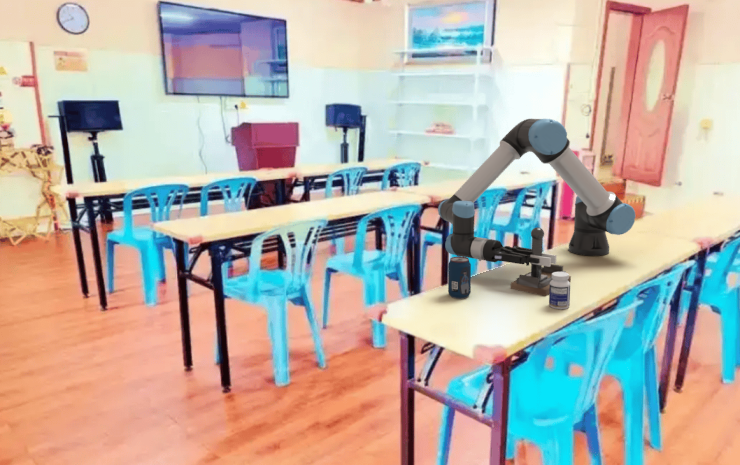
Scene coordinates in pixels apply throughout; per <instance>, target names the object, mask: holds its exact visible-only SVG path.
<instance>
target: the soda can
mask: <svg viewBox="0 0 740 465" xmlns="http://www.w3.org/2000/svg"><path fill="white" fill-rule="evenodd" d="M447 267H448V268H447V271H448V272H447V274H448V275H447V278H448V279H447V281H448V282H447V283H448V284H447V286H448V287H447V289H448V290H447V292H448V295H449V296H450V297H451V298H453V299H456V300H458V299H459V300H462V299H463V300H464V299H467V298H469V296H470V295H471V293H472V292H471V290H472V289H471V285H472V284H471V283H472V280H471V279H472V278H471V277H472V274H471V273H472V264H471V262H470V258H468V257H462V256H451V257H450V259H449V262H448V266H447Z"/></svg>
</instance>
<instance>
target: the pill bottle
mask: <svg viewBox="0 0 740 465" xmlns="http://www.w3.org/2000/svg"><path fill="white" fill-rule="evenodd" d="M569 276H570V274H569V273H568V272H553V273H552V280H551V281H550V288H549V295H548V305H549V307H550V308H552V309H556V310H567V309H569V307H570V305H571V303H570V301H571V282H569V281H568V279H569Z"/></svg>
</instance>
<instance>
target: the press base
mask: <svg viewBox="0 0 740 465" xmlns="http://www.w3.org/2000/svg"><path fill="white" fill-rule="evenodd" d="M553 272H566V270H564V265H560V264H552V263H551V266H550V267H547V266H542V268H541V275H547V276H548V278H547V279H546V280H544V281H542V282H540V283H539V278H536V277H531V276H526V275H528V274H530V273H531V271H530V272H528V273H525V274H519V275H518V277H517V278H515V279H516V280H513V281H512V282H510V290H516V291H520V292H524V293H529V294H530V293H531V294H533V295H539V296H544V297H547V296H549V288H550V281H551V280H552V273H553ZM566 273H567V272H566ZM571 278H572V276H570V275H569V279H568V281H569V282H570V283H571V281H572V280H571Z"/></svg>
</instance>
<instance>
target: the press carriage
mask: <svg viewBox="0 0 740 465" xmlns="http://www.w3.org/2000/svg"><path fill="white" fill-rule="evenodd" d="M530 236H531V249H532V255H536V256H542V253H543V244H544V243H543V241H544V240H543V239H544V237H545V231H544V230H543V228H541V227H534V228H532V230H531V231H530ZM542 267H543V266H542V265H536V264H531V263H530V272H531V273H530V274H528V275H526V276H531V277H536V278H539V283H540V282H542V281H544V280H546V279H547V278H548V276H547V275H541V268H542Z"/></svg>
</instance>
